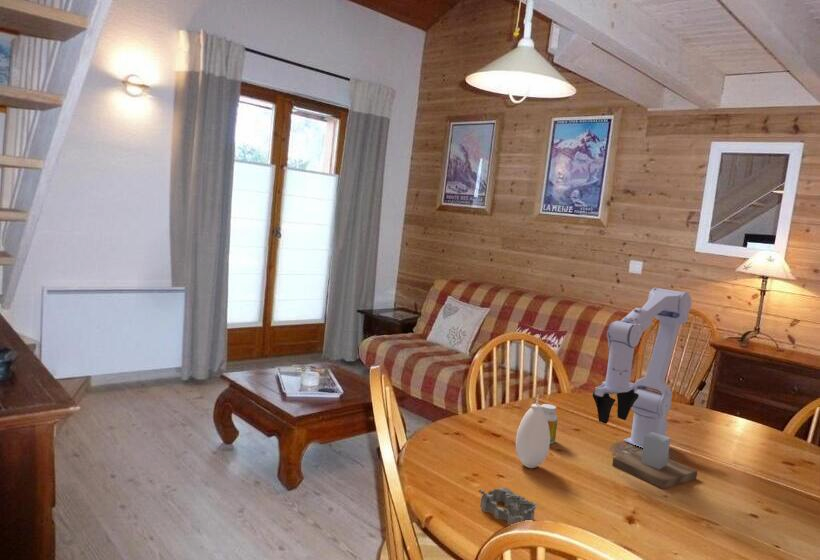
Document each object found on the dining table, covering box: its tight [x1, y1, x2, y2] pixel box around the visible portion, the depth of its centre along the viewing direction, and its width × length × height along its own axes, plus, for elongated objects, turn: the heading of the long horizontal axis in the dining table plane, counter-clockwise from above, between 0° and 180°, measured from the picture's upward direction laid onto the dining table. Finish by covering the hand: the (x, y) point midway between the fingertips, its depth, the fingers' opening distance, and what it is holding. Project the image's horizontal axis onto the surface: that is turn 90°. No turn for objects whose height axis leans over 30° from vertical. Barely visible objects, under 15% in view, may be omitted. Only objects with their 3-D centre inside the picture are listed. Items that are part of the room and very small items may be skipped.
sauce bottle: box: [515, 394, 551, 469], centre depth 142 cm, size 8×8×18 cm
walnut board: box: [612, 450, 698, 490], centre depth 146 cm, size 14×14×2 cm
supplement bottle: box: [540, 403, 559, 445], centre depth 161 cm, size 5×5×10 cm
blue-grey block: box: [641, 432, 671, 469], centre depth 146 cm, size 5×5×7 cm
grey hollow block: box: [478, 487, 539, 526], centre depth 118 cm, size 11×8×4 cm
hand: (612, 420), depth 150 cm, fingers open, 7 cm apart
